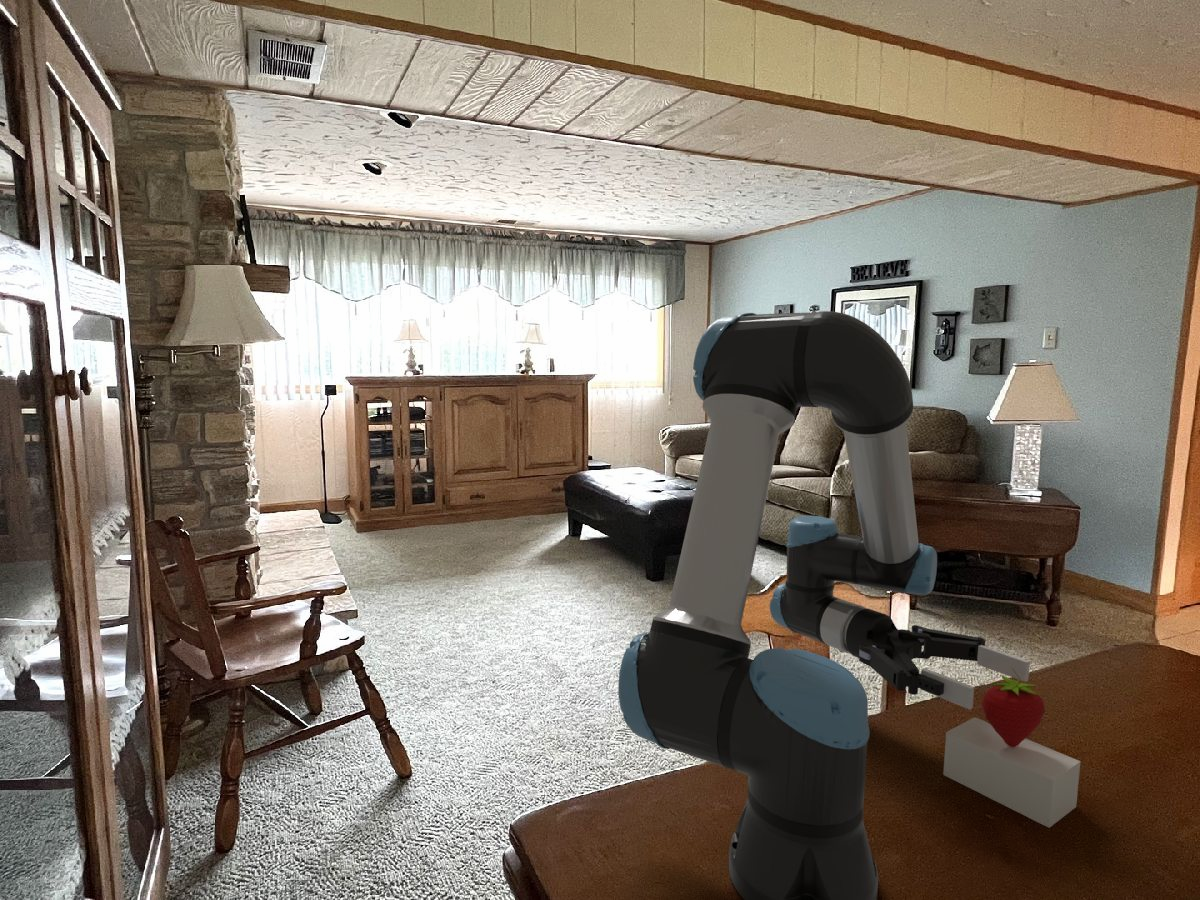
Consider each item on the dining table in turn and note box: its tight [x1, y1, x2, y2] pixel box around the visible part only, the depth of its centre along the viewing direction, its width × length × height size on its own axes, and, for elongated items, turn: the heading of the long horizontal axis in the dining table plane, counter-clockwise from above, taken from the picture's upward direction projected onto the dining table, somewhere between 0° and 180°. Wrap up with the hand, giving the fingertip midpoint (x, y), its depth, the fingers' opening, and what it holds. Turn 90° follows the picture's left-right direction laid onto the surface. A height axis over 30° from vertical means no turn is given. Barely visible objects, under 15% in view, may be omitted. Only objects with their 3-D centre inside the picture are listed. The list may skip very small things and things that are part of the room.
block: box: [943, 717, 1081, 828], centre depth 91 cm, size 7×13×6 cm, turn 34°
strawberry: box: [981, 668, 1046, 747], centre depth 90 cm, size 6×8×10 cm
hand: (1001, 684), depth 91 cm, fingers open, 13 cm apart
